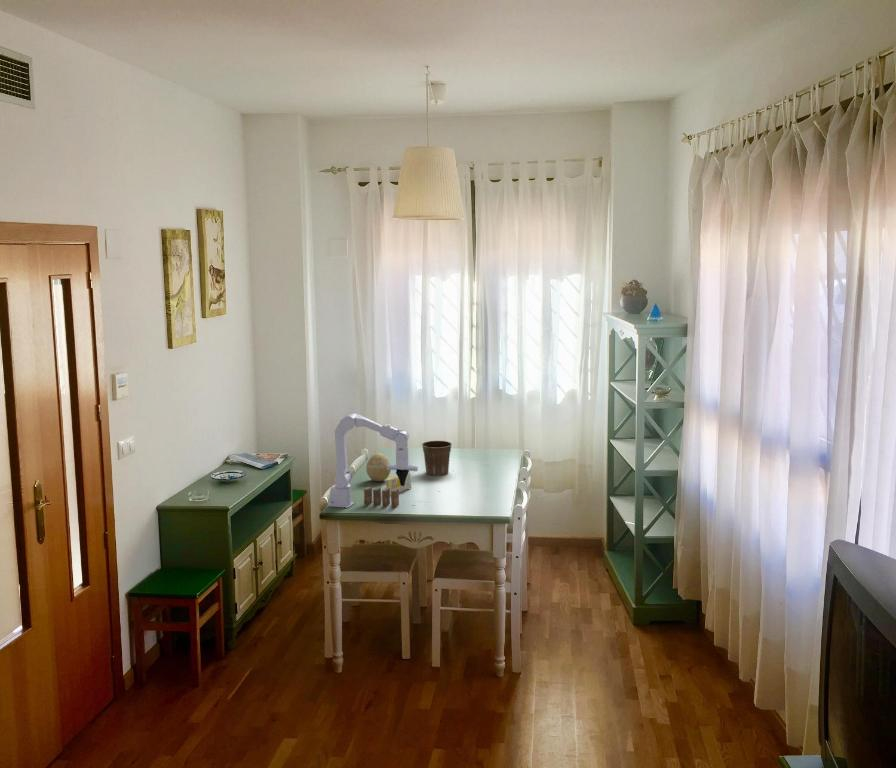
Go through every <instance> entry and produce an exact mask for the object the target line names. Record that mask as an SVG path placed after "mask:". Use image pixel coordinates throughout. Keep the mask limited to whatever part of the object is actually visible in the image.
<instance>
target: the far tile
mask: <svg viewBox="0 0 896 768" xmlns="http://www.w3.org/2000/svg"><path fill="white" fill-rule="evenodd" d="M390 505H391V506H390V507H391V508H392V509H396V508H397V507H399V506H400V493H399V489H396V488H394V489H393V490H392V491H391V495H390ZM398 505H399V506H398Z"/></svg>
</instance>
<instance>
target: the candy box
mask: <svg viewBox="0 0 896 768" xmlns="http://www.w3.org/2000/svg"><path fill="white" fill-rule="evenodd" d="M411 481H412V479H411V472H409V473H408V475H407V477H406V481H405V485H404V486H401V484H400V481H399V478H398V476H397V475H396V476H393V477H389V478H386V479H385V485H386V487H385V488H390V496H391V491H392V490H393V489H394V488H396V489H399V492H400V493H402V492H401V491H403V492H405V491H404V490H406V491H408V490H407V489H409V488H411V489H412V483H411ZM409 490H410V489H409Z"/></svg>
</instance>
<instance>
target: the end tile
mask: <svg viewBox="0 0 896 768" xmlns="http://www.w3.org/2000/svg"><path fill="white" fill-rule="evenodd" d="M363 499H364V501H363V503H364V505H366V506H365V507H369V506H371V505H372V504H373V487H372V486H367V487H365V488H364V489H363ZM371 503H372V504H371ZM370 504H371V505H370ZM368 505H369V506H368Z"/></svg>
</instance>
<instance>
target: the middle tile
mask: <svg viewBox="0 0 896 768" xmlns="http://www.w3.org/2000/svg"><path fill="white" fill-rule="evenodd" d="M389 504H390V505H391V495H390V488H387V487H384V489H381V505H382V508H388V507H389V506H390V505H389ZM388 505H389V506H388ZM387 506H388V507H387Z"/></svg>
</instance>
